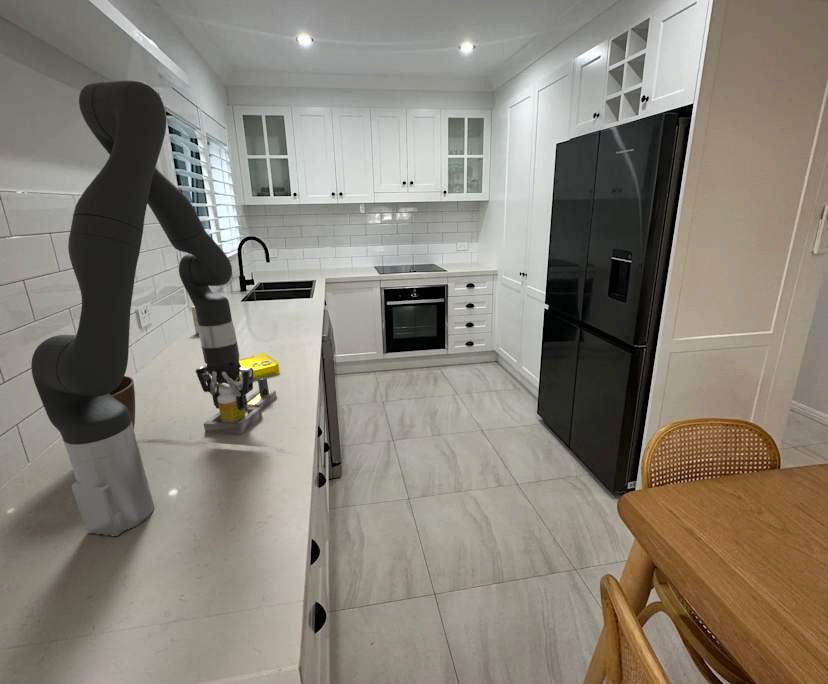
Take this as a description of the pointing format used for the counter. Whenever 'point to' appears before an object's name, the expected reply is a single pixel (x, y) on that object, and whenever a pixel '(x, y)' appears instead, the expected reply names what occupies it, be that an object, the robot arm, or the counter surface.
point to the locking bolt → (263, 392)
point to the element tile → (260, 365)
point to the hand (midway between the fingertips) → (231, 407)
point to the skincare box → (195, 319)
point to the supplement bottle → (229, 405)
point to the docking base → (239, 428)
